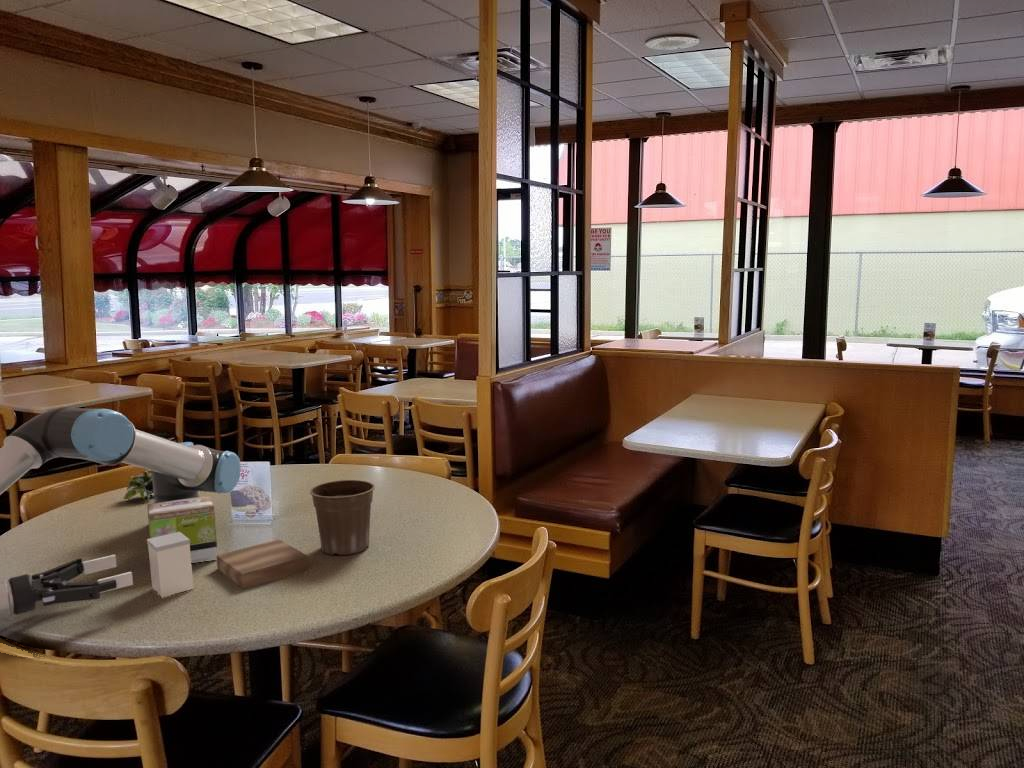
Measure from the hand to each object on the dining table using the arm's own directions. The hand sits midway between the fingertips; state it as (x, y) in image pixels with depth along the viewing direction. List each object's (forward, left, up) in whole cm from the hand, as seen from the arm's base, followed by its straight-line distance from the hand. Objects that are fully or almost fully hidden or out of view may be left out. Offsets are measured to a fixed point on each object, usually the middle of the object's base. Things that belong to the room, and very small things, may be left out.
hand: (123, 569), depth 168 cm
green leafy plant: (-80, +26, -8) cm, 84 cm away
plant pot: (+4, +52, -8) cm, 52 cm away
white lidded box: (0, +10, -8) cm, 12 cm away
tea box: (-17, +18, -8) cm, 26 cm away
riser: (+3, +30, -8) cm, 31 cm away
